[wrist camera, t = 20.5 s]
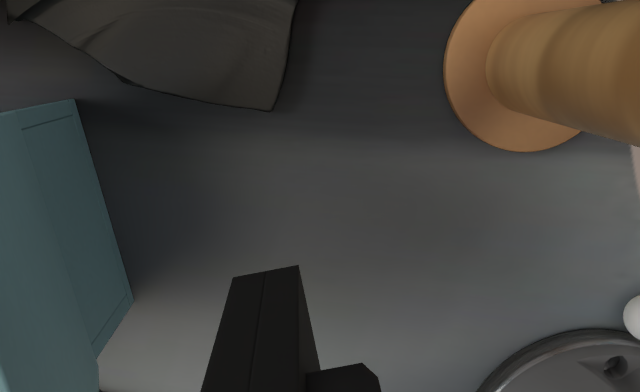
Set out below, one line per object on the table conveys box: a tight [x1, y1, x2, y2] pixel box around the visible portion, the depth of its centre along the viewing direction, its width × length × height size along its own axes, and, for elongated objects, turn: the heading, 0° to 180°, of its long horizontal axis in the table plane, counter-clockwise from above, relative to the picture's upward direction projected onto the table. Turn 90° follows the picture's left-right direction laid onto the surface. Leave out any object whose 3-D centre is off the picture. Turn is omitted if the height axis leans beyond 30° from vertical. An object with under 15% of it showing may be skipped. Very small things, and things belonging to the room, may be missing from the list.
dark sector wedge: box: [7, 0, 299, 112], centre depth 28 cm, size 8×14×2 cm, turn 77°
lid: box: [0, 111, 99, 392], centre depth 17 cm, size 14×12×1 cm
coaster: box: [443, 0, 602, 152], centre depth 30 cm, size 9×9×1 cm
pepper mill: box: [485, 0, 640, 147], centre depth 21 cm, size 5×5×16 cm
